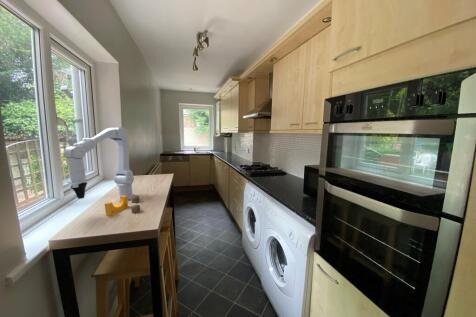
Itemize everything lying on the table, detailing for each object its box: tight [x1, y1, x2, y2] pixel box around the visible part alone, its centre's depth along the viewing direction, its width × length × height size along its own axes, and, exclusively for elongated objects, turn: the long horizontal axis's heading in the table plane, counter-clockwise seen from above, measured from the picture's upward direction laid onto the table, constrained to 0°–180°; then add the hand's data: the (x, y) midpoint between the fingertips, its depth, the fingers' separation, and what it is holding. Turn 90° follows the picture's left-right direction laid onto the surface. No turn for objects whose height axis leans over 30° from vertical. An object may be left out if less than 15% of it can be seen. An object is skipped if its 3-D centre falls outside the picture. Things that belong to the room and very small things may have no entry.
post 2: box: [131, 204, 141, 214], centre depth 99 cm, size 4×4×3 cm
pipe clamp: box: [104, 196, 129, 217], centre depth 100 cm, size 12×4×6 cm, turn 170°
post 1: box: [130, 195, 140, 204], centre depth 112 cm, size 4×4×3 cm
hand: (81, 198), depth 93 cm, fingers closed
